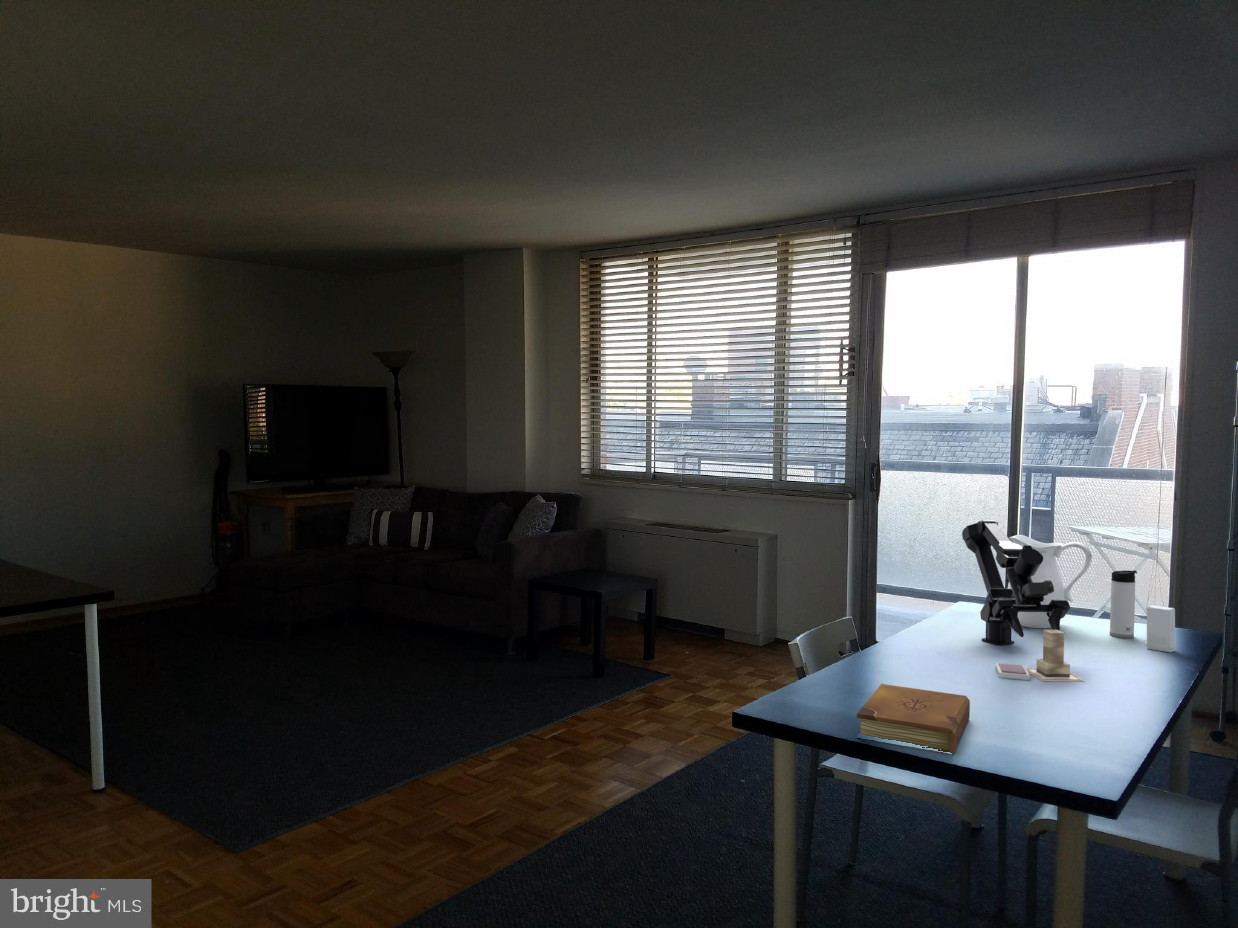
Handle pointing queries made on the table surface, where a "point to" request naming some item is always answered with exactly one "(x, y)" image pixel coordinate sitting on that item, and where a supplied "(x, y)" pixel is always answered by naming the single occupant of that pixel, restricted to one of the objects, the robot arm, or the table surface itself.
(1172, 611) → the skincare box
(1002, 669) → the ink pad
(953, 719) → the diary
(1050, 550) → the pitcher
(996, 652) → the table surface
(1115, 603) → the travel mug
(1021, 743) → the table surface
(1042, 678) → the marked card
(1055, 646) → the stamp
